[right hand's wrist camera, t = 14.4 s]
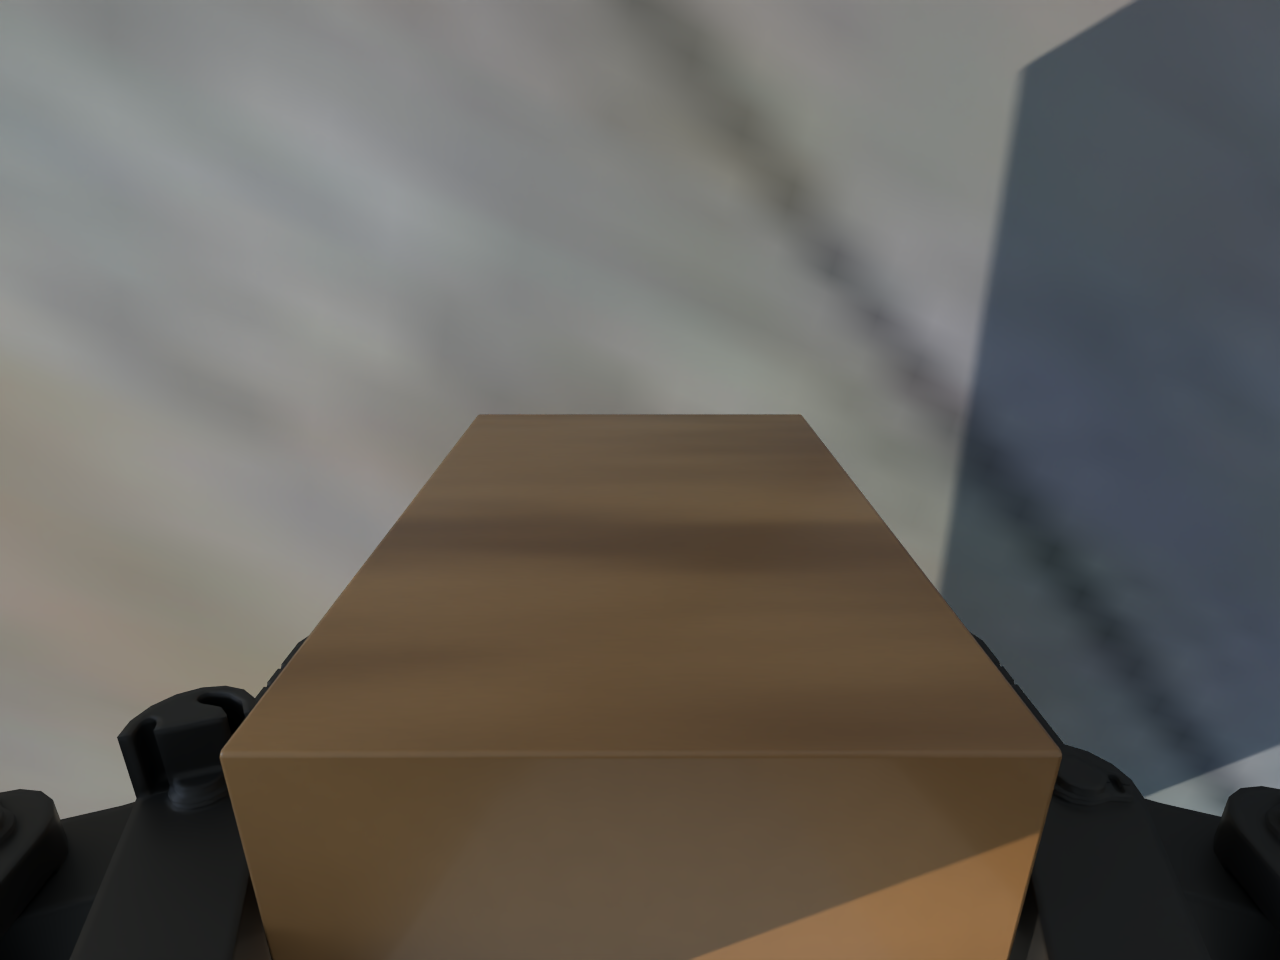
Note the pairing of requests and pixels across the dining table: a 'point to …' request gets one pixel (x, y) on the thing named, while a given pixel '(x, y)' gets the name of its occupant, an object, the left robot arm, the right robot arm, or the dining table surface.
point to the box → (640, 720)
